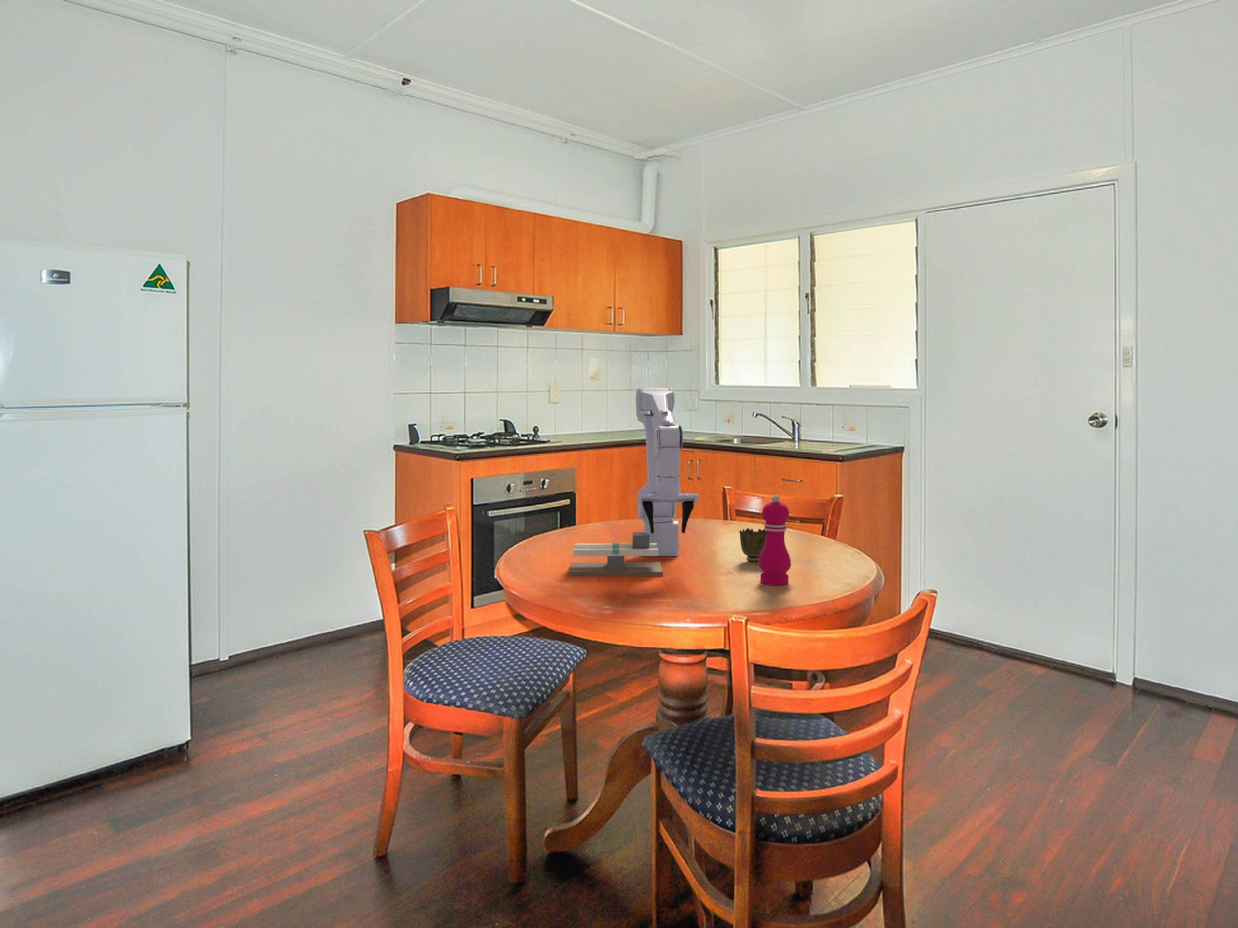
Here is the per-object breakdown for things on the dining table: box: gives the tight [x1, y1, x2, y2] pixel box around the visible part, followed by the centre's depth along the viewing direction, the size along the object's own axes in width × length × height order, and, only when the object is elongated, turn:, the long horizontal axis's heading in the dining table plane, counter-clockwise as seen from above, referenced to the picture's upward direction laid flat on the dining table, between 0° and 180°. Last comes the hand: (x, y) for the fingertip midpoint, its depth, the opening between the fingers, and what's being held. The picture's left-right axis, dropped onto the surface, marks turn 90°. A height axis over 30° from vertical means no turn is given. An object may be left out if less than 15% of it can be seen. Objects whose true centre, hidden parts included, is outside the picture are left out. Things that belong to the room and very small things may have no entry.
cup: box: [739, 527, 766, 564], centre depth 197 cm, size 8×7×8 cm
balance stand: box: [568, 542, 664, 577], centre depth 188 cm, size 22×10×6 cm, turn 91°
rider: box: [631, 531, 649, 549], centre depth 188 cm, size 4×4×4 cm
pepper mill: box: [758, 494, 792, 586], centre depth 177 cm, size 7×7×20 cm
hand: (667, 532), depth 188 cm, fingers open, 7 cm apart
